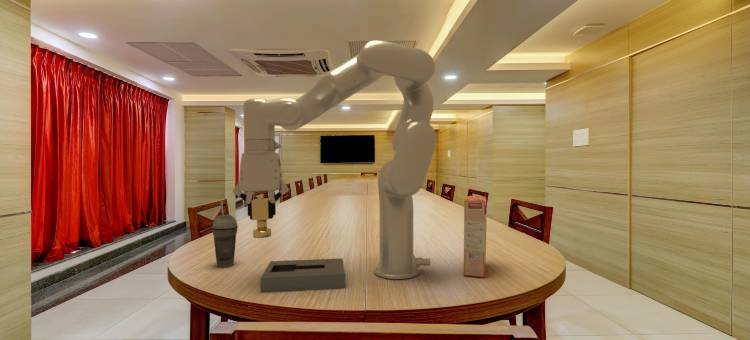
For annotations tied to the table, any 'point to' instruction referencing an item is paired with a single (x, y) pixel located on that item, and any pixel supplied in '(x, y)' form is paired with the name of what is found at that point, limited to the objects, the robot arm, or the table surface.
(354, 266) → the table surface
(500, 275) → the table surface
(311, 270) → the keyhole plate
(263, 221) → the brass peg
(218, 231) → the beverage cup
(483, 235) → the cracker box
